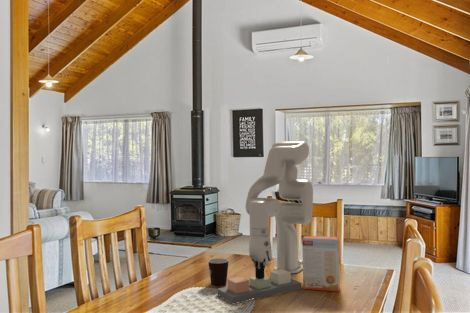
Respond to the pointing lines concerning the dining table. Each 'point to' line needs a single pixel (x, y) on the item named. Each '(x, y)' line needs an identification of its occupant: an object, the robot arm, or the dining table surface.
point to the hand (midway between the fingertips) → (260, 277)
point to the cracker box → (321, 263)
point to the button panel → (258, 291)
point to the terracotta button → (238, 285)
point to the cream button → (280, 276)
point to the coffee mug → (218, 271)
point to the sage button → (260, 282)
